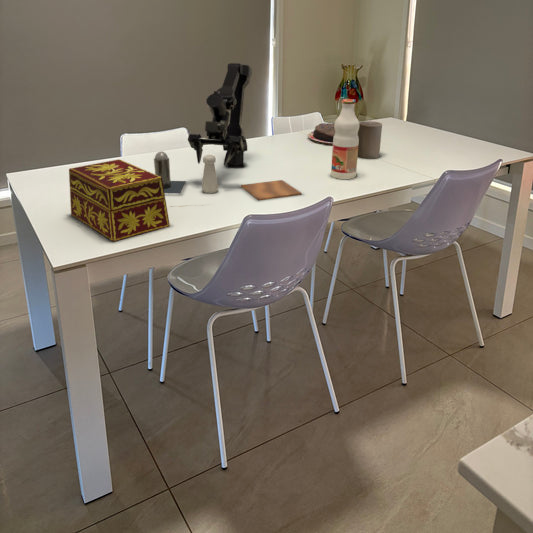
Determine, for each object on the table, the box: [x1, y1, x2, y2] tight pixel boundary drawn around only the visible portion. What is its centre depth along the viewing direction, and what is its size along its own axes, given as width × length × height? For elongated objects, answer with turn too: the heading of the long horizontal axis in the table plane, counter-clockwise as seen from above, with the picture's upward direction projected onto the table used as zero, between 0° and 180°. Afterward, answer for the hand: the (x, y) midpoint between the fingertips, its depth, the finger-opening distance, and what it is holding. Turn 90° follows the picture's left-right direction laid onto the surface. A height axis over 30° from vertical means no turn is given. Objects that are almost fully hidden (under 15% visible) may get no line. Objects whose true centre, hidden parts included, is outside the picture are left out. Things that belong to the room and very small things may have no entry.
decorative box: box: [68, 159, 171, 242], centre depth 175 cm, size 28×19×15 cm
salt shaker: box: [201, 154, 219, 194], centre depth 200 cm, size 6×6×13 cm
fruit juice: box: [330, 98, 360, 180], centre depth 216 cm, size 9×9×28 cm
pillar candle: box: [357, 119, 383, 160], centre depth 245 cm, size 10×10×15 cm
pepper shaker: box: [153, 151, 172, 189], centre depth 204 cm, size 5×5×12 cm
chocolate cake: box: [307, 122, 335, 146], centre depth 274 cm, size 28×28×7 cm
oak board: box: [240, 179, 302, 201], centre depth 205 cm, size 16×16×1 cm
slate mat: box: [164, 180, 187, 195], centre depth 206 cm, size 14×14×1 cm
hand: (211, 163), depth 200 cm, fingers open, 9 cm apart
